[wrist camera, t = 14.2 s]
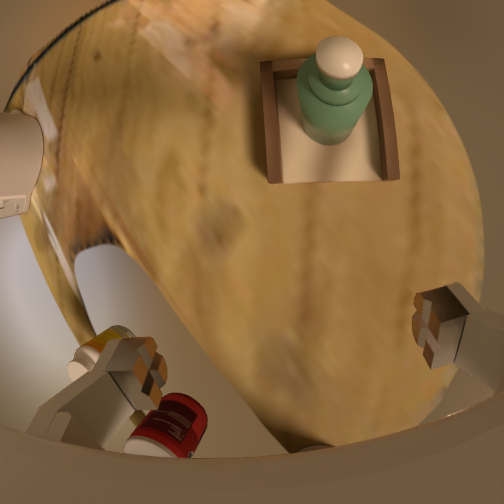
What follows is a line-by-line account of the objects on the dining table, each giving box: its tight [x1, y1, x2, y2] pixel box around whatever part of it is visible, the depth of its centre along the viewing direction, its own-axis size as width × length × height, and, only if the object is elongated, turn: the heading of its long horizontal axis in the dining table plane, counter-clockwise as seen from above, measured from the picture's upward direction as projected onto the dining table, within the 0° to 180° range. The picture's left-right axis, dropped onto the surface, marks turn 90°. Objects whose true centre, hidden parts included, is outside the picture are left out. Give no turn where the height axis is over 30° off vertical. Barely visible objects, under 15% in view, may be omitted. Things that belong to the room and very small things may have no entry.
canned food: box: [124, 393, 208, 458], centre depth 34 cm, size 8×8×11 cm
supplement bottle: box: [67, 325, 135, 382], centre depth 34 cm, size 6×6×10 cm
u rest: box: [260, 58, 400, 184], centre depth 28 cm, size 12×12×4 cm
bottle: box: [297, 36, 373, 146], centre depth 21 cm, size 5×5×15 cm
